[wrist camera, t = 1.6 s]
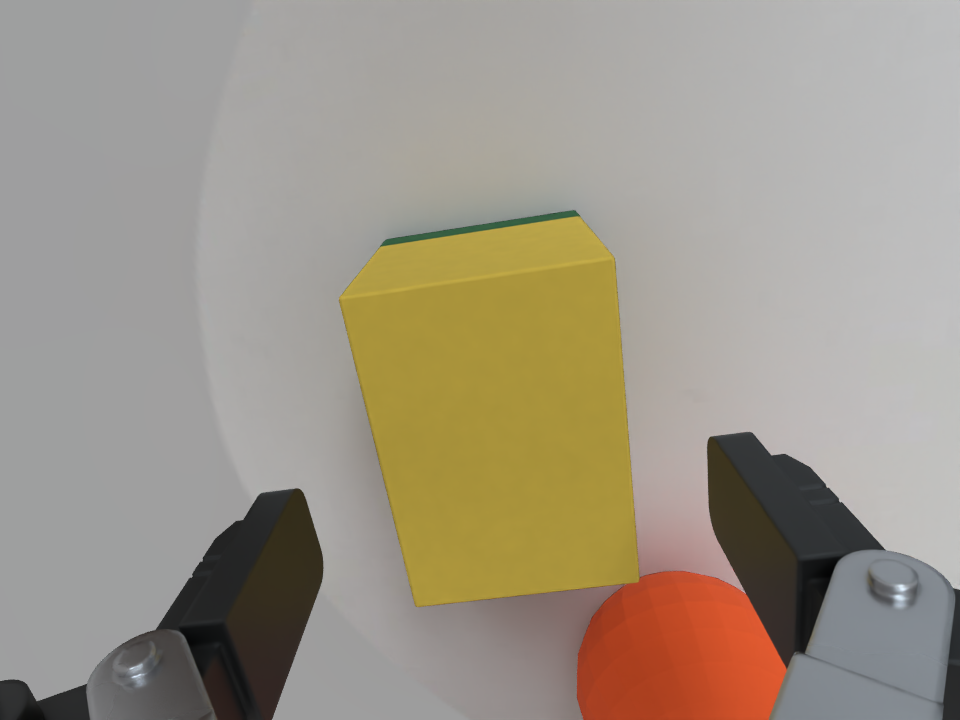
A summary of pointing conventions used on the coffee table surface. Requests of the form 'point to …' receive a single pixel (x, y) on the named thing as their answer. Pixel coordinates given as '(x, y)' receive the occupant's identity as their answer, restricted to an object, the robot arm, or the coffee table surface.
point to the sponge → (498, 407)
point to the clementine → (677, 654)
